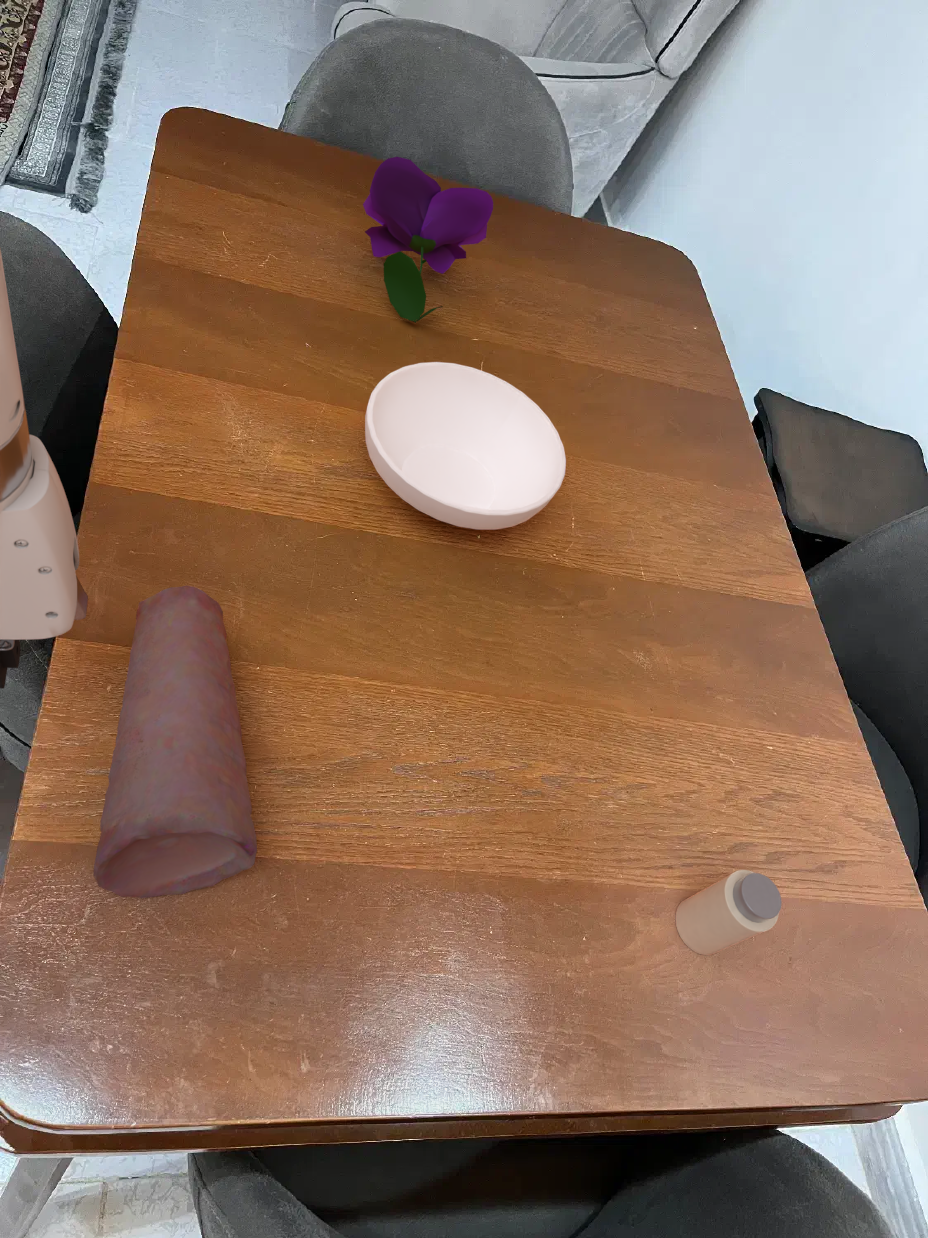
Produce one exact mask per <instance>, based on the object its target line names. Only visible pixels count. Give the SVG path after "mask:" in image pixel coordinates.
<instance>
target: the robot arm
mask: <svg viewBox="0 0 928 1238" xmlns="http://www.w3.org/2000/svg"><path fill="white" fill-rule="evenodd" d="M1 249H2V248H0V689H5V686H6V681H7V673H8V669H18V668H19V666H20V665H19V664H20V660H21V659H20V658H21V641H22V640H23V641H24V640H44V639H50V638H55V637H58V636H62V635H63V634H66V633H68V632H69V631H70V630H71V629H72V628H73V625H74V622H75V621H80V620H84V619H86V617H87V613H88V604H89V603H88V601H89V596H88V594H87V592H86V590H85V589H84V586H83V585H82V583H81V581H80V579H79V578H78V576H77V572H76V571H77V570H78V568H79V566H80V562H81V561H80V550H79V548H80V547H79V542H78V537H77V532H76V527H75V524H74V522H75V521H74V518H73V516H72V512H71V507H70V503H69V501H68V498H67V495H66V492H65V489H64V486H63V483H62V481H61V478H60V475H59V474H58V471H57V468H56V466H55V464H54V462H53V461H52V458H51V456H50V454H49V452H48V451H47V449H46V447H45V445H44V443H43V442H42V440H41V439H40V438H39V437H37V436H36V435H33V434H30V432H29V431H30V429H29V423H28V418H27V417H28V416H27V410H26V404H25V397H24V391H23V385H22V380H21V379H22V378H21V373H20V366H19V360H18V352H17V347H16V340H15V334H14V333H15V332H14V328H13V321H12V315H11V309H10V307H11V306H10V302H9V296H8V287H7V283H6V275H5V267H4V262H3V256H2V255H3V254H2V250H1ZM20 640H21V641H20Z"/></svg>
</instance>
